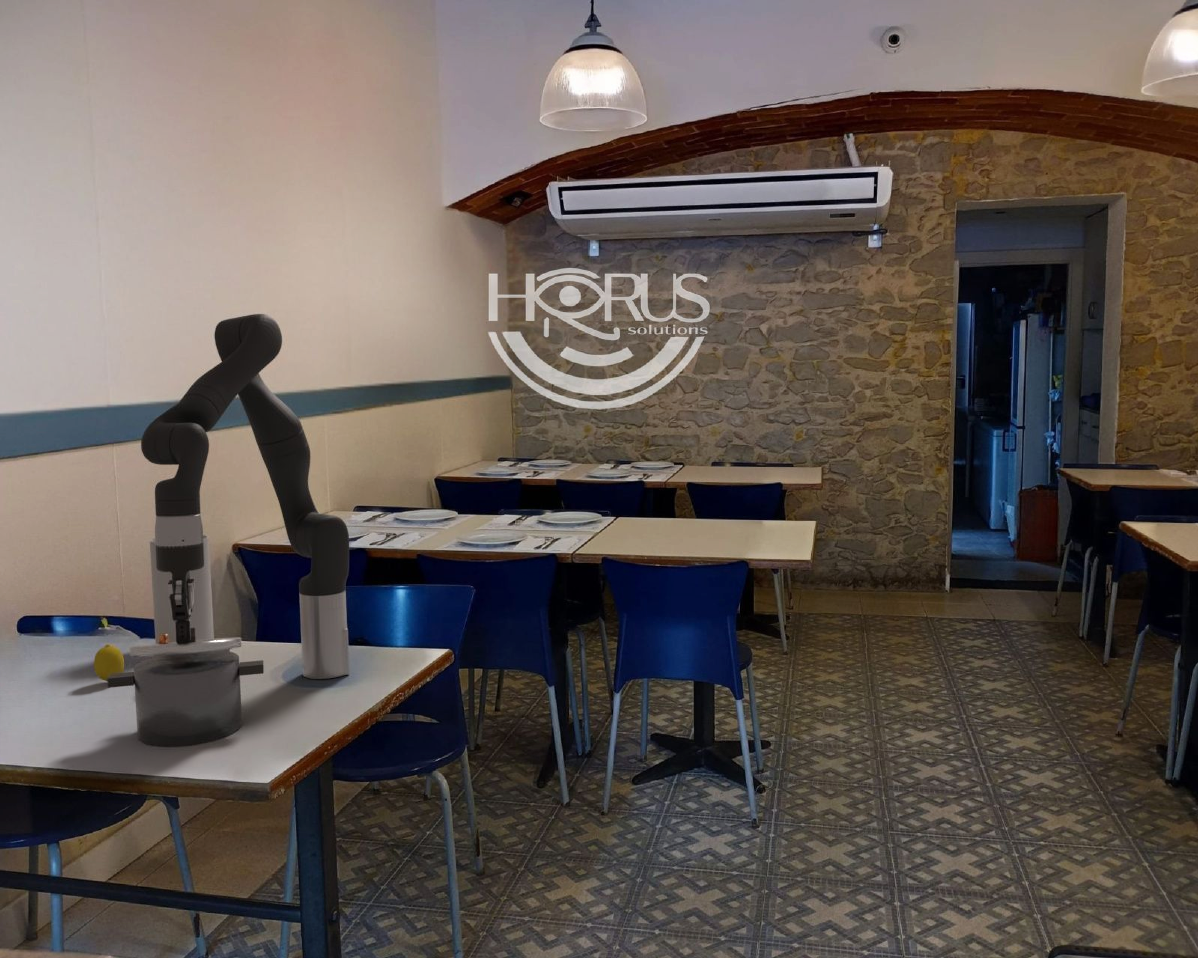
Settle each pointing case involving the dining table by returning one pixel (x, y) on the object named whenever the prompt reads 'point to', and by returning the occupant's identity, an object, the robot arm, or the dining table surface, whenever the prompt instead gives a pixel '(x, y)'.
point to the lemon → (108, 662)
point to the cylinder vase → (201, 593)
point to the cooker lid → (184, 646)
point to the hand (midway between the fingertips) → (183, 642)
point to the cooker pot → (187, 696)
